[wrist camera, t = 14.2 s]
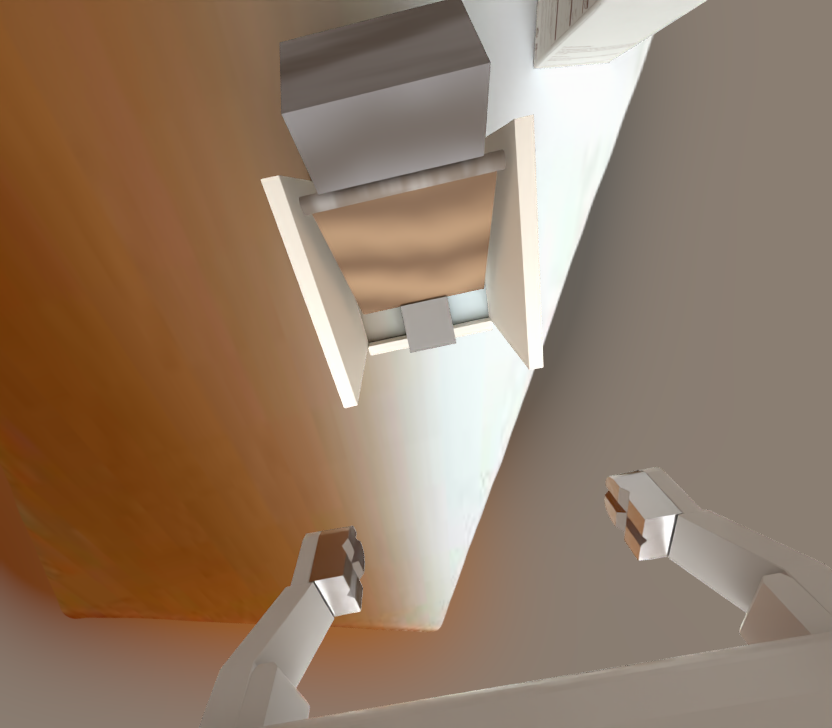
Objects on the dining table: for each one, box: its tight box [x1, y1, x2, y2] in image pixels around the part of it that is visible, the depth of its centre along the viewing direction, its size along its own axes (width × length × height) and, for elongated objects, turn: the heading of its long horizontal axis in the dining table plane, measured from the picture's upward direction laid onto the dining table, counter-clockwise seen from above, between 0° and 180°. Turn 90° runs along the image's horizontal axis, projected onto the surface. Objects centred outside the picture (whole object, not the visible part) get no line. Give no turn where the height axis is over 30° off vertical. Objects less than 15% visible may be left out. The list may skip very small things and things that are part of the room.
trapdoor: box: [280, 0, 506, 314], centre depth 28 cm, size 20×14×7 cm
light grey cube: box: [400, 296, 456, 353], centre depth 38 cm, size 5×5×5 cm
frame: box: [261, 115, 543, 408], centre depth 31 cm, size 20×18×14 cm
